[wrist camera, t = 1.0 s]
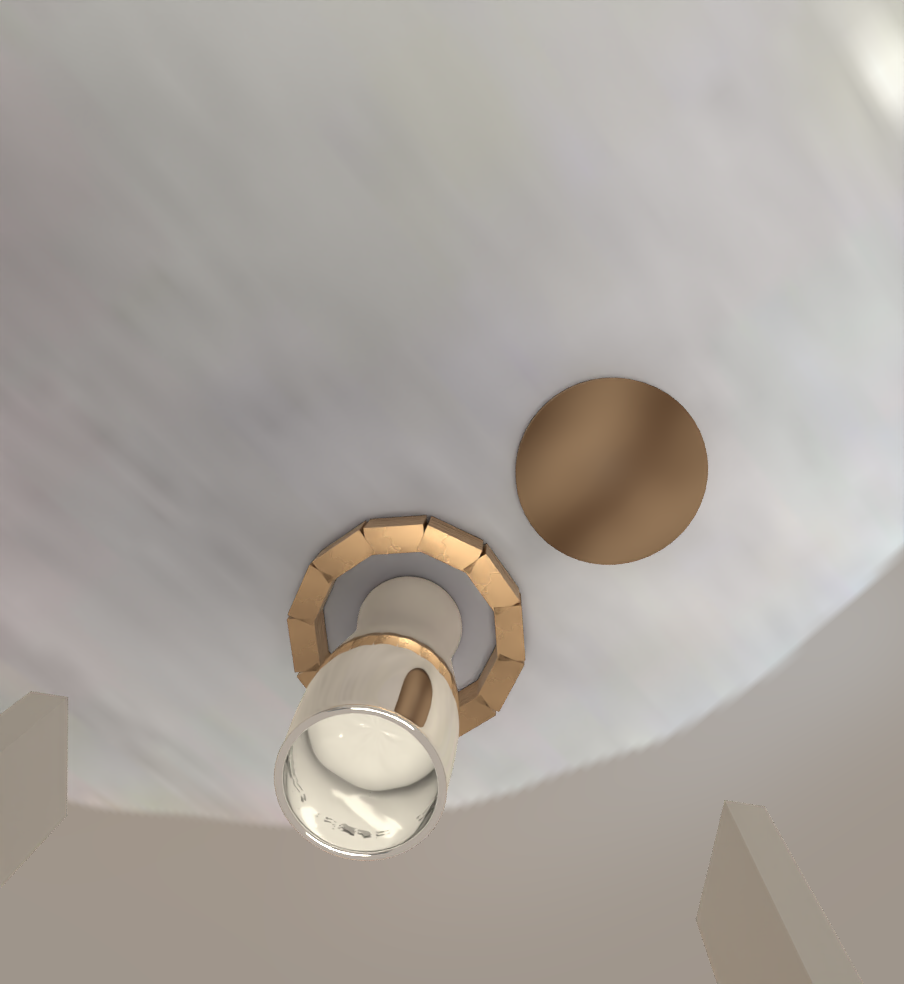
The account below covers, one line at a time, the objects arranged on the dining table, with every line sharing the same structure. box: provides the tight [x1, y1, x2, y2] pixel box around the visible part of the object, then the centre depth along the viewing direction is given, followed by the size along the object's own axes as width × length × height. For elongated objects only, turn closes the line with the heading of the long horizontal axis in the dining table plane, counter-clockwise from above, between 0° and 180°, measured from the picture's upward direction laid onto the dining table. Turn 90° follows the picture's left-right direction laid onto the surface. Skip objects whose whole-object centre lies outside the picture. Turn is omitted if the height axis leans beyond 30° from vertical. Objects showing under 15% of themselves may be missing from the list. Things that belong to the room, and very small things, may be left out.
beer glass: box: [274, 576, 462, 861], centre depth 33 cm, size 7×7×15 cm
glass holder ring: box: [287, 515, 525, 737], centre depth 40 cm, size 13×13×2 cm
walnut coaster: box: [516, 378, 708, 565], centre depth 38 cm, size 10×10×1 cm
